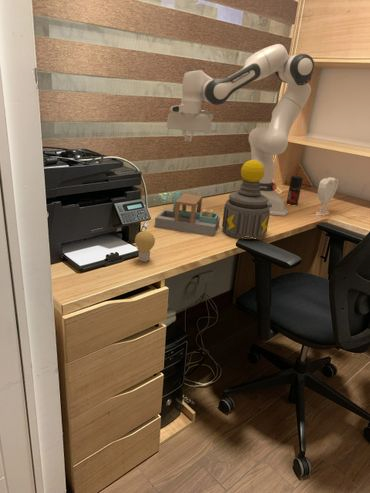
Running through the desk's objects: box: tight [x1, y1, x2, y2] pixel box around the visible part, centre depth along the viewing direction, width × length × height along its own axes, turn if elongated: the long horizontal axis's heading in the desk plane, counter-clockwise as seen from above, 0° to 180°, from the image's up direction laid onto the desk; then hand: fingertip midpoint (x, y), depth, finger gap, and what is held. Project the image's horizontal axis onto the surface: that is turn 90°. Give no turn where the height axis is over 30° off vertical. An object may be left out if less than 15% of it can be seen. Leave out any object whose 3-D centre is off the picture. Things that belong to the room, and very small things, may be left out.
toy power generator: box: [221, 159, 270, 240], centre depth 152 cm, size 19×19×30 cm
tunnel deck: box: [154, 192, 221, 237], centre depth 157 cm, size 24×14×12 cm, turn 77°
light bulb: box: [134, 230, 156, 262], centre depth 123 cm, size 6×6×10 cm
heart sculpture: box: [315, 176, 339, 216], centre depth 191 cm, size 16×5×18 cm, turn 137°
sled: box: [172, 190, 219, 223], centre depth 155 cm, size 19×7×10 cm, turn 77°
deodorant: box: [286, 175, 304, 206], centre depth 202 cm, size 6×6×15 cm
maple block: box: [201, 208, 214, 218], centre depth 155 cm, size 4×4×4 cm
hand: (187, 141), depth 173 cm, fingers closed
